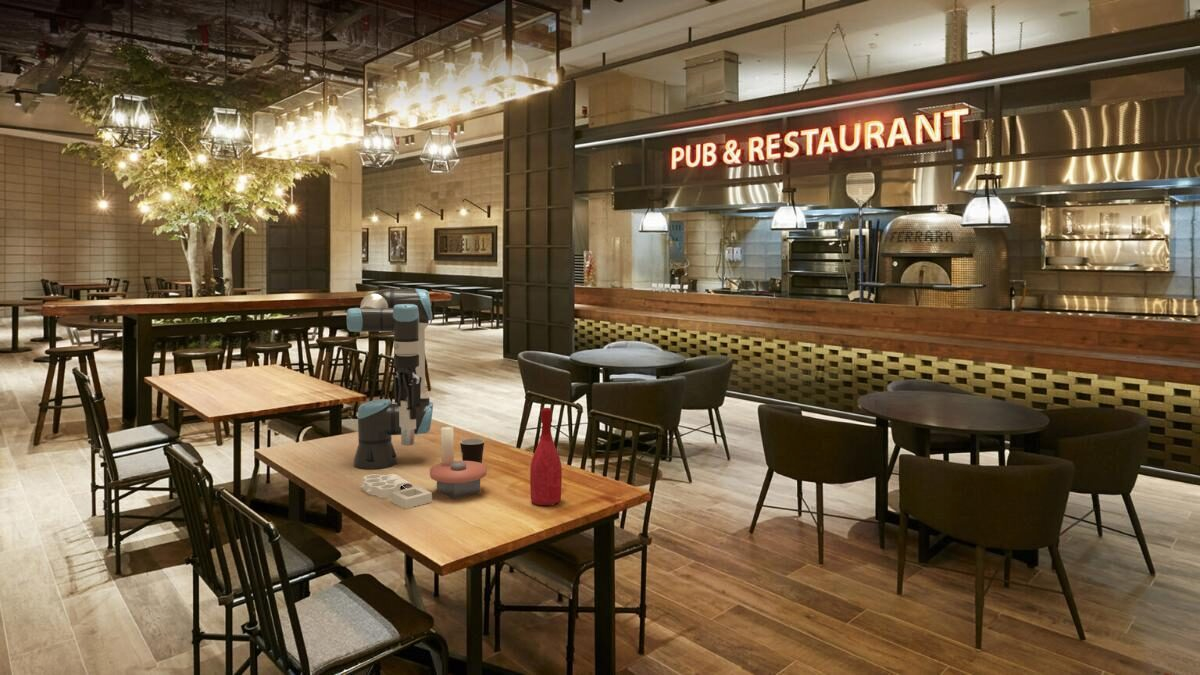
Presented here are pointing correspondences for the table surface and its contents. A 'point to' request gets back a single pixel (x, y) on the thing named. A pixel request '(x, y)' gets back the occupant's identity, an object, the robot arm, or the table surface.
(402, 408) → the steel pin
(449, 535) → the table surface
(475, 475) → the handwheel
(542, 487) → the wine bottle
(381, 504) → the table surface
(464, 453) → the coffee mug
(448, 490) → the valve housing
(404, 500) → the eye block
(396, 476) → the knuckle duster
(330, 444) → the table surface
